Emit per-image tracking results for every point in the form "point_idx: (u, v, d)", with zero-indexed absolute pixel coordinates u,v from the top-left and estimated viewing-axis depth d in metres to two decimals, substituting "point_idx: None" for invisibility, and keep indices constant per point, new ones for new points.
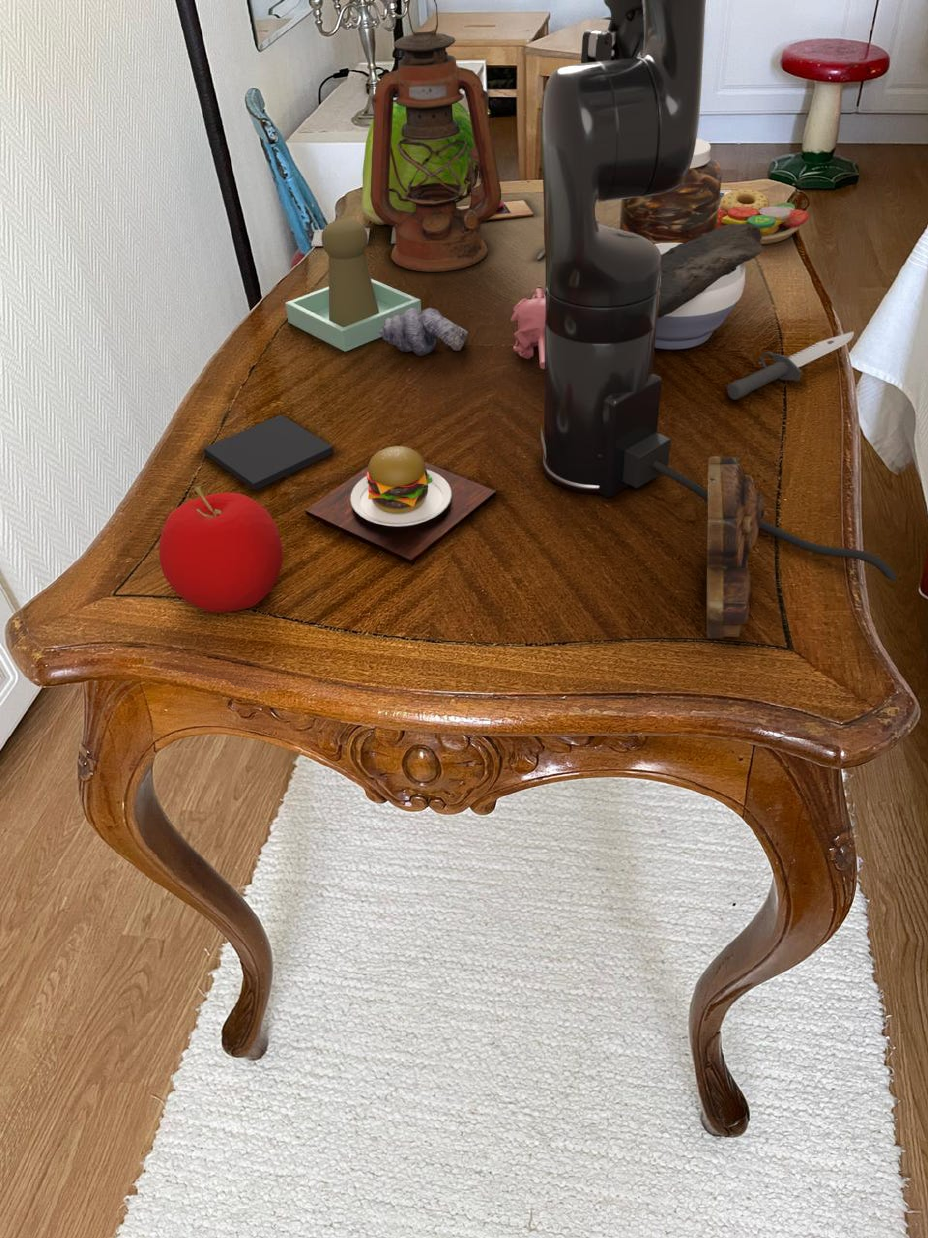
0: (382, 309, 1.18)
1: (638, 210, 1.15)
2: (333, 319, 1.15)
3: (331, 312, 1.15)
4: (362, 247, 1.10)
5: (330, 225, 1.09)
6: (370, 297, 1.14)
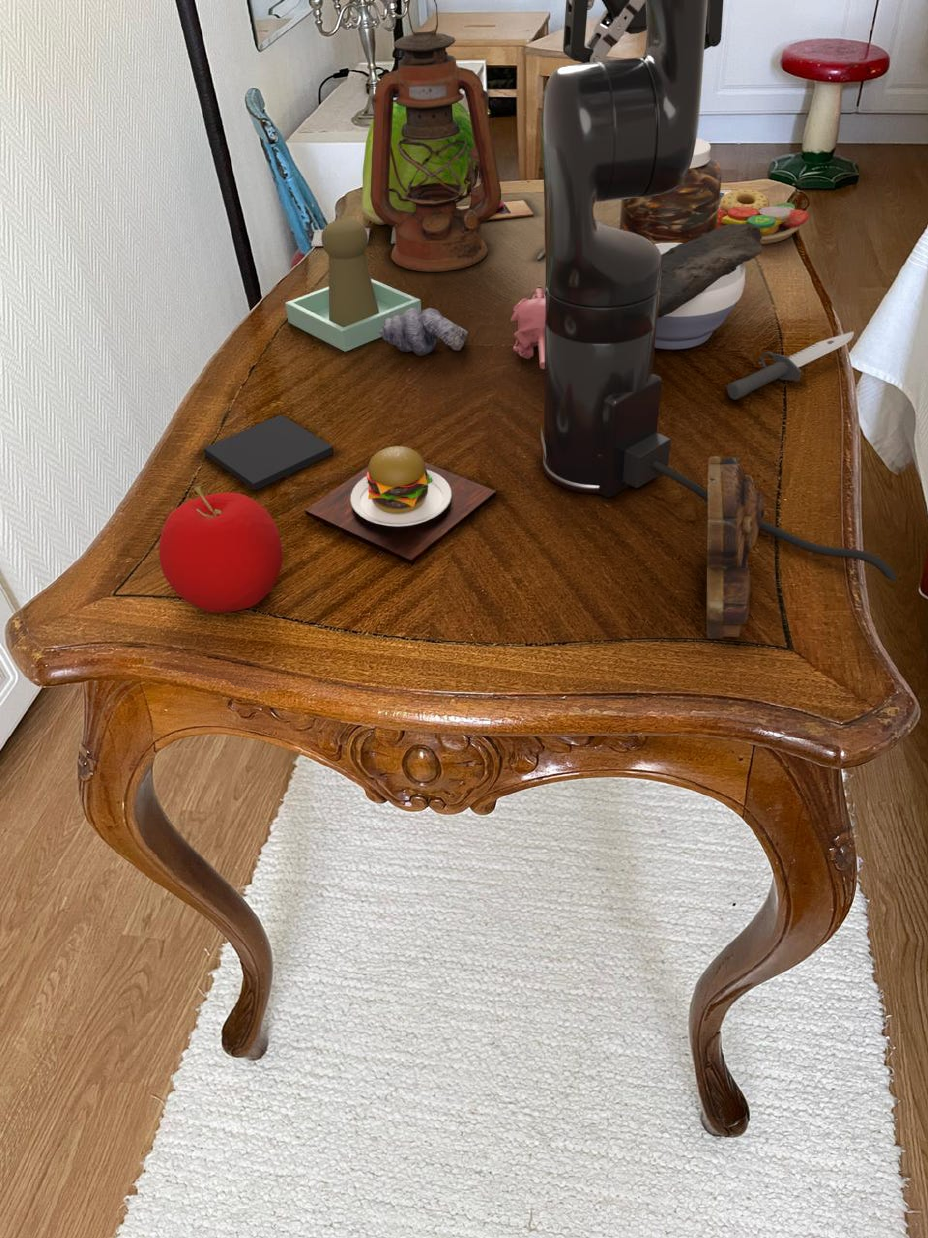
0: (382, 309, 1.18)
1: (638, 210, 1.15)
2: (333, 319, 1.15)
3: (331, 312, 1.15)
4: (362, 247, 1.10)
5: (330, 225, 1.09)
6: (370, 297, 1.14)
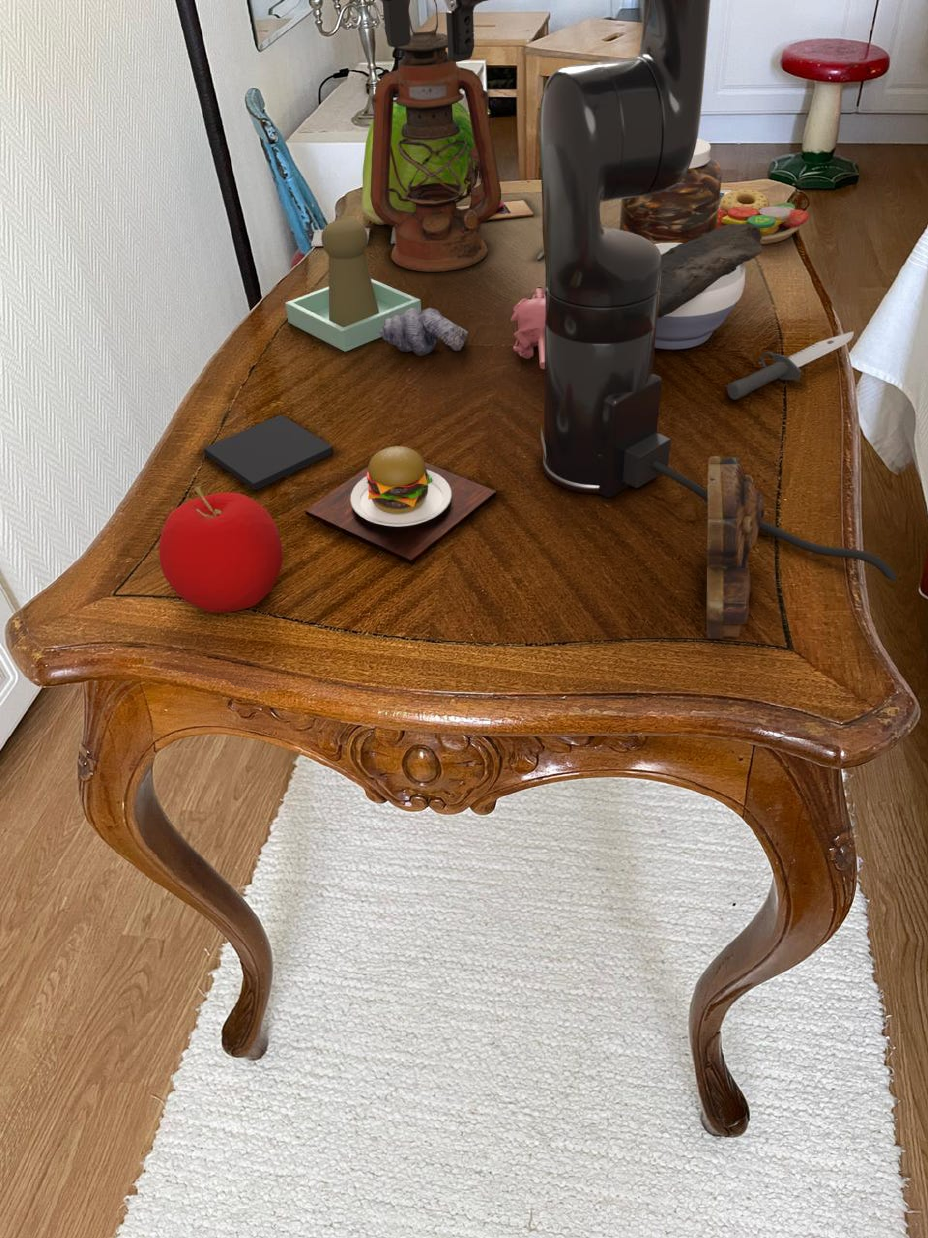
0: (382, 309, 1.18)
1: (638, 210, 1.15)
2: (333, 319, 1.15)
3: (331, 312, 1.15)
4: (362, 247, 1.10)
5: (330, 225, 1.09)
6: (370, 297, 1.14)
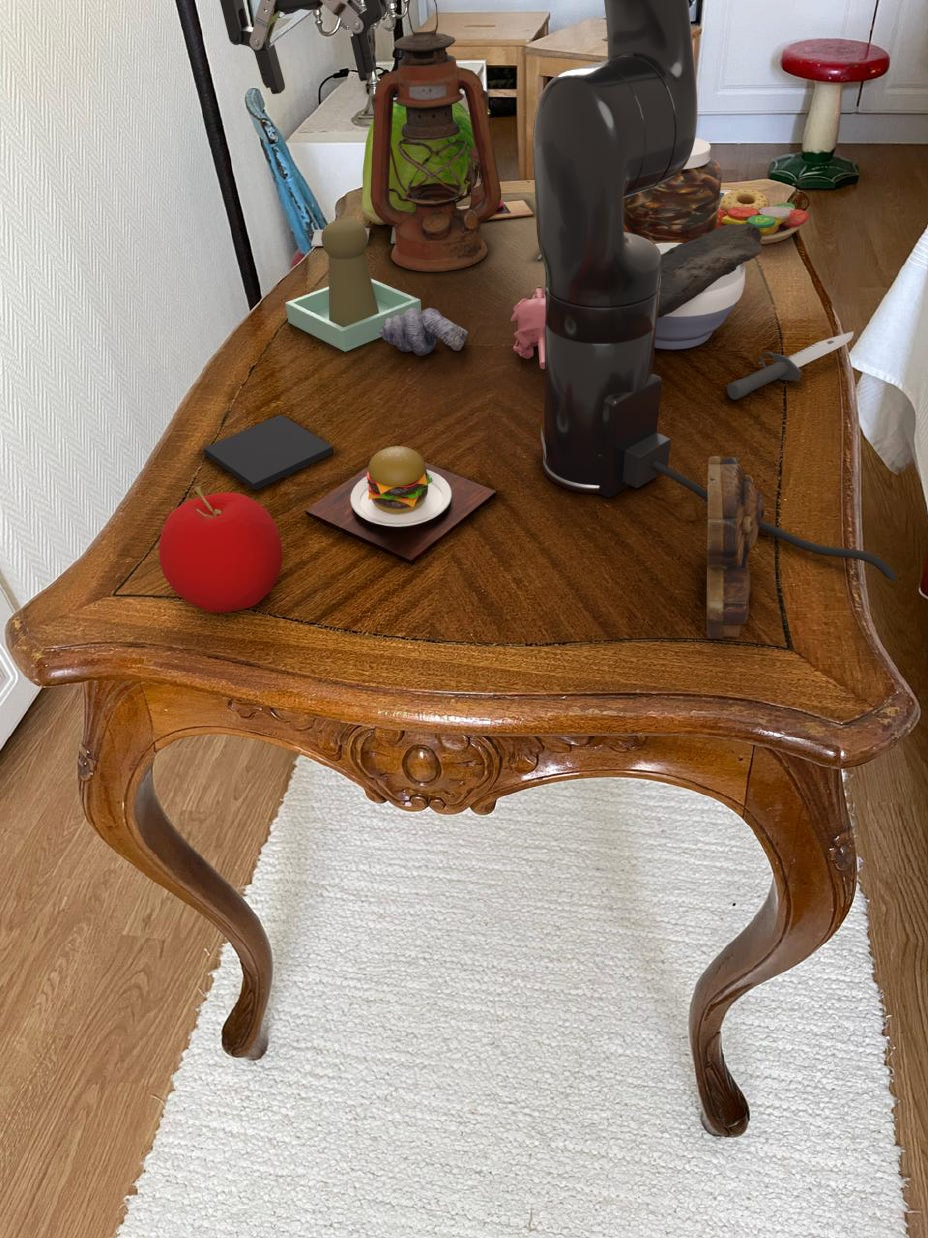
0: (382, 309, 1.18)
1: (638, 210, 1.15)
2: (333, 319, 1.15)
3: (331, 312, 1.15)
4: (362, 247, 1.10)
5: (330, 225, 1.09)
6: (370, 297, 1.14)
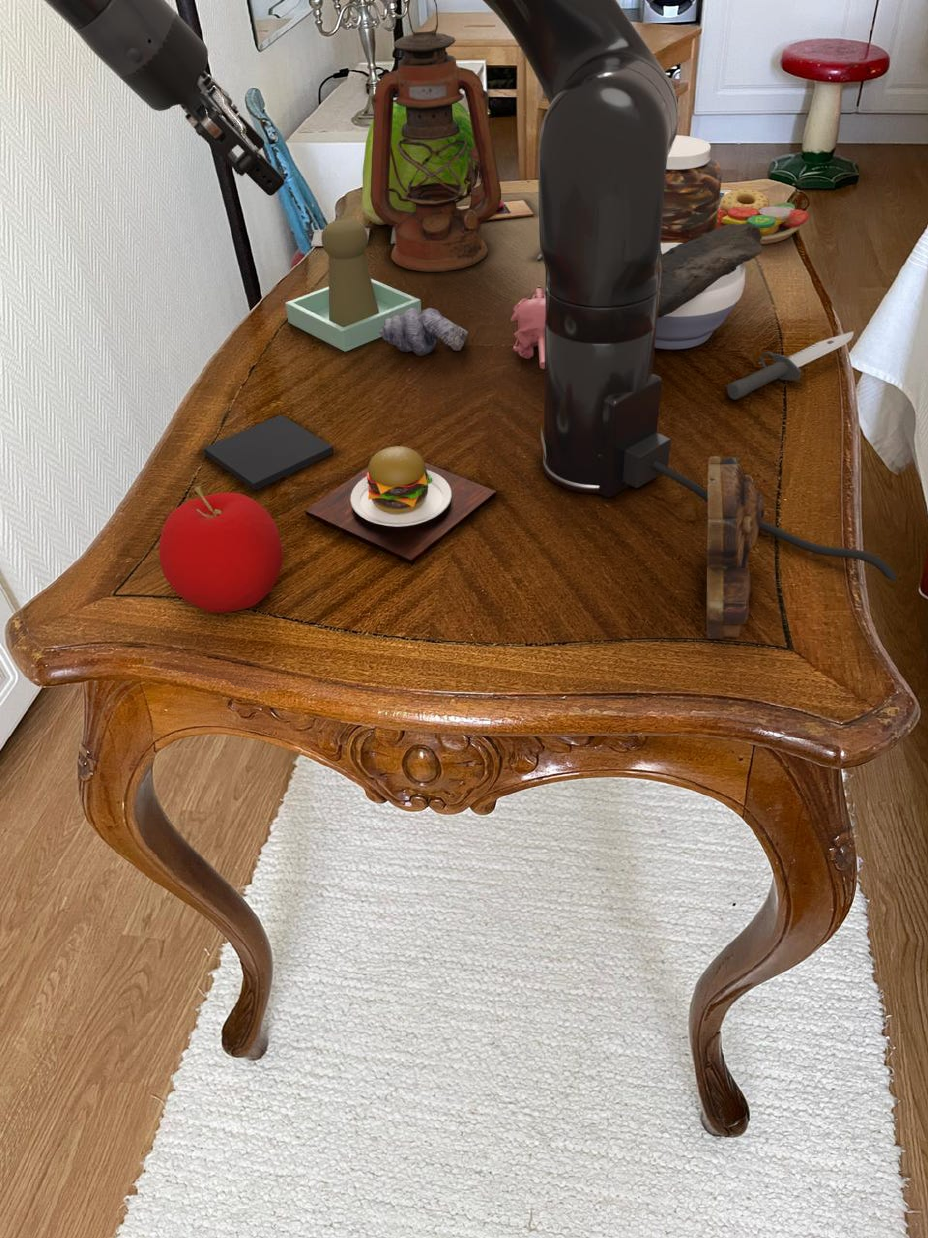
0: (382, 309, 1.18)
1: None
2: (333, 319, 1.15)
3: (331, 312, 1.15)
4: (362, 247, 1.10)
5: (330, 225, 1.09)
6: (370, 297, 1.14)
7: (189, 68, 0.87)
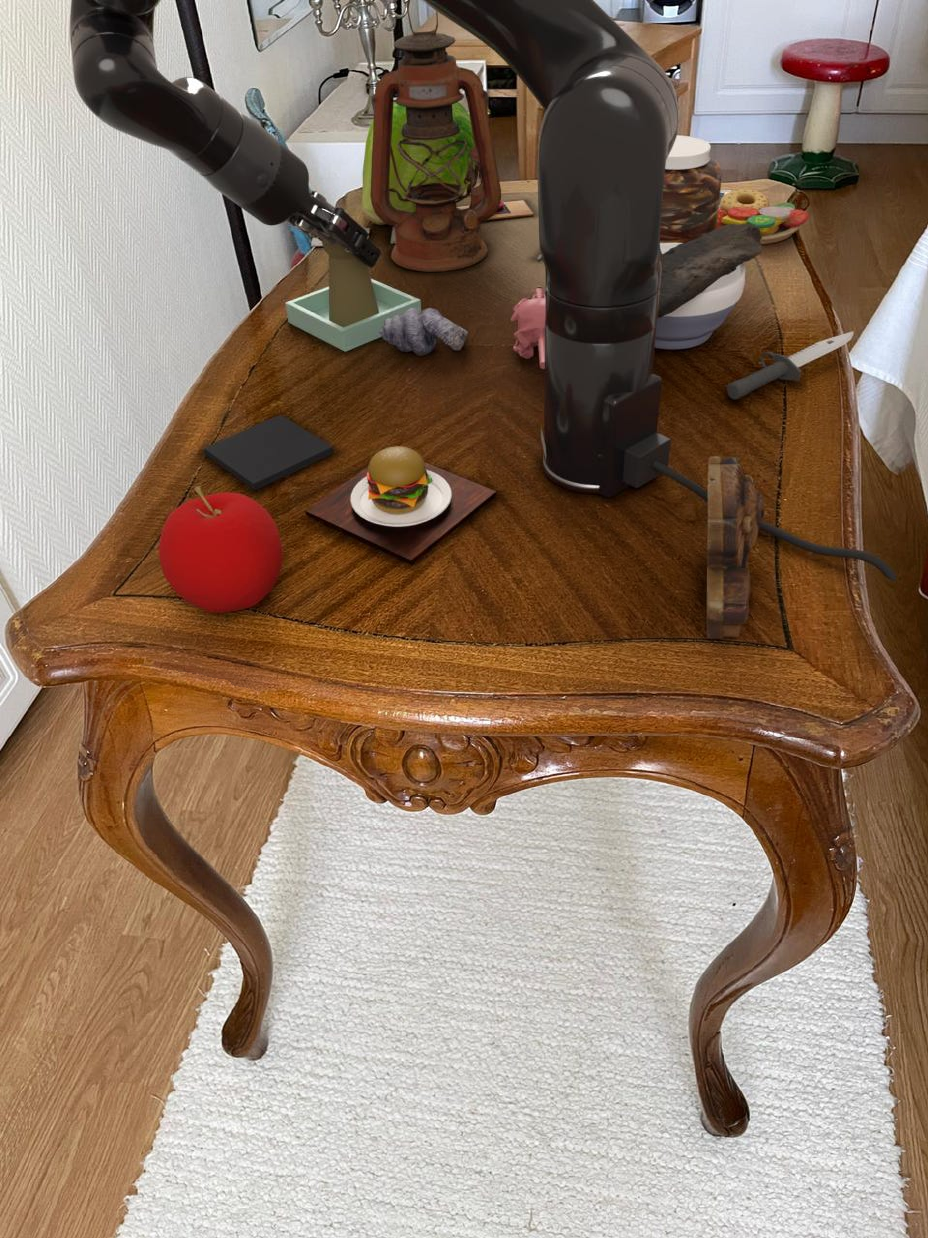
0: (382, 309, 1.18)
1: None
2: (333, 319, 1.15)
3: (331, 312, 1.15)
4: None
5: None
6: (371, 297, 1.14)
7: (301, 178, 1.00)
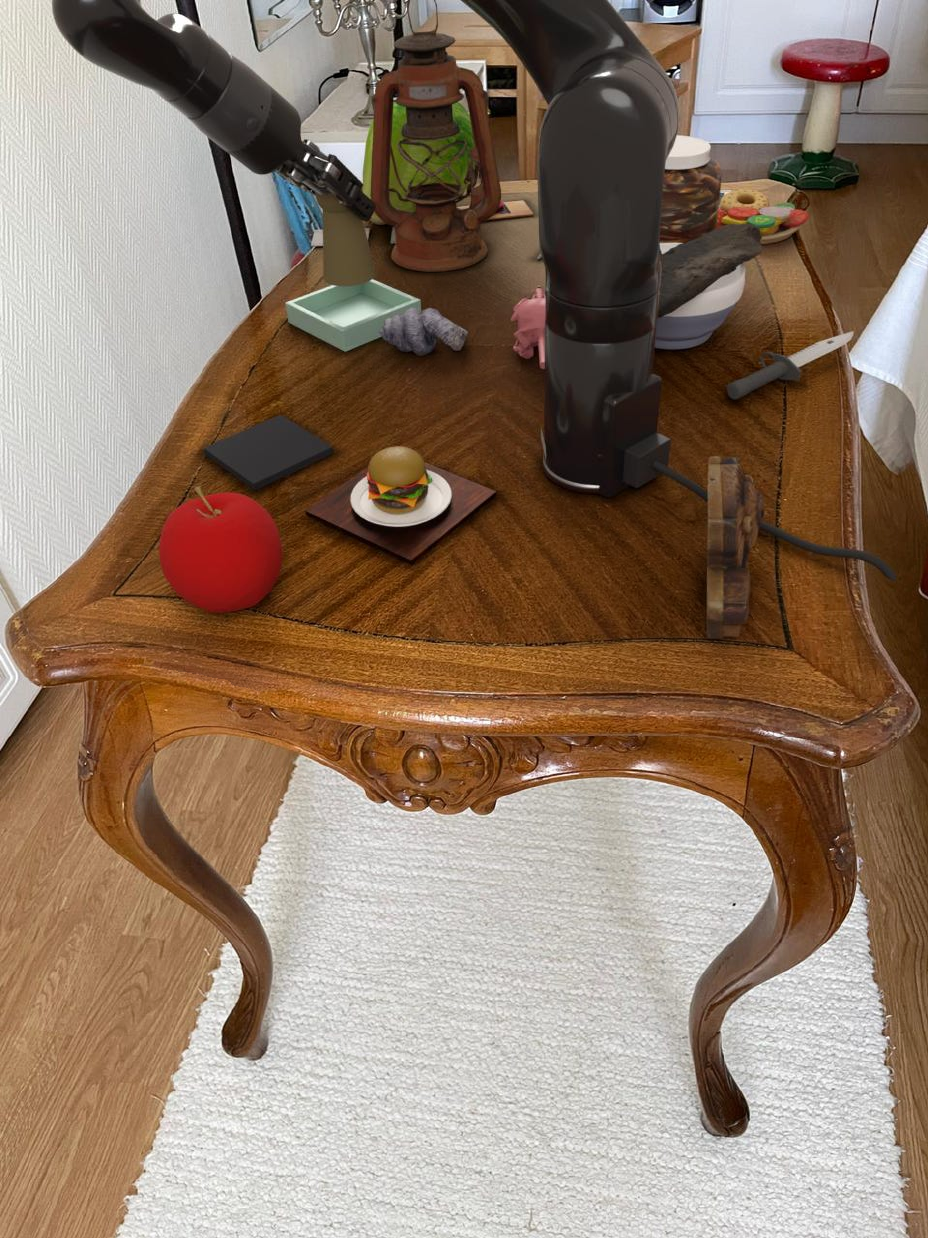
0: (382, 309, 1.18)
1: None
2: (327, 277, 1.11)
3: (325, 270, 1.11)
4: None
5: None
6: (366, 254, 1.10)
7: (293, 123, 0.96)
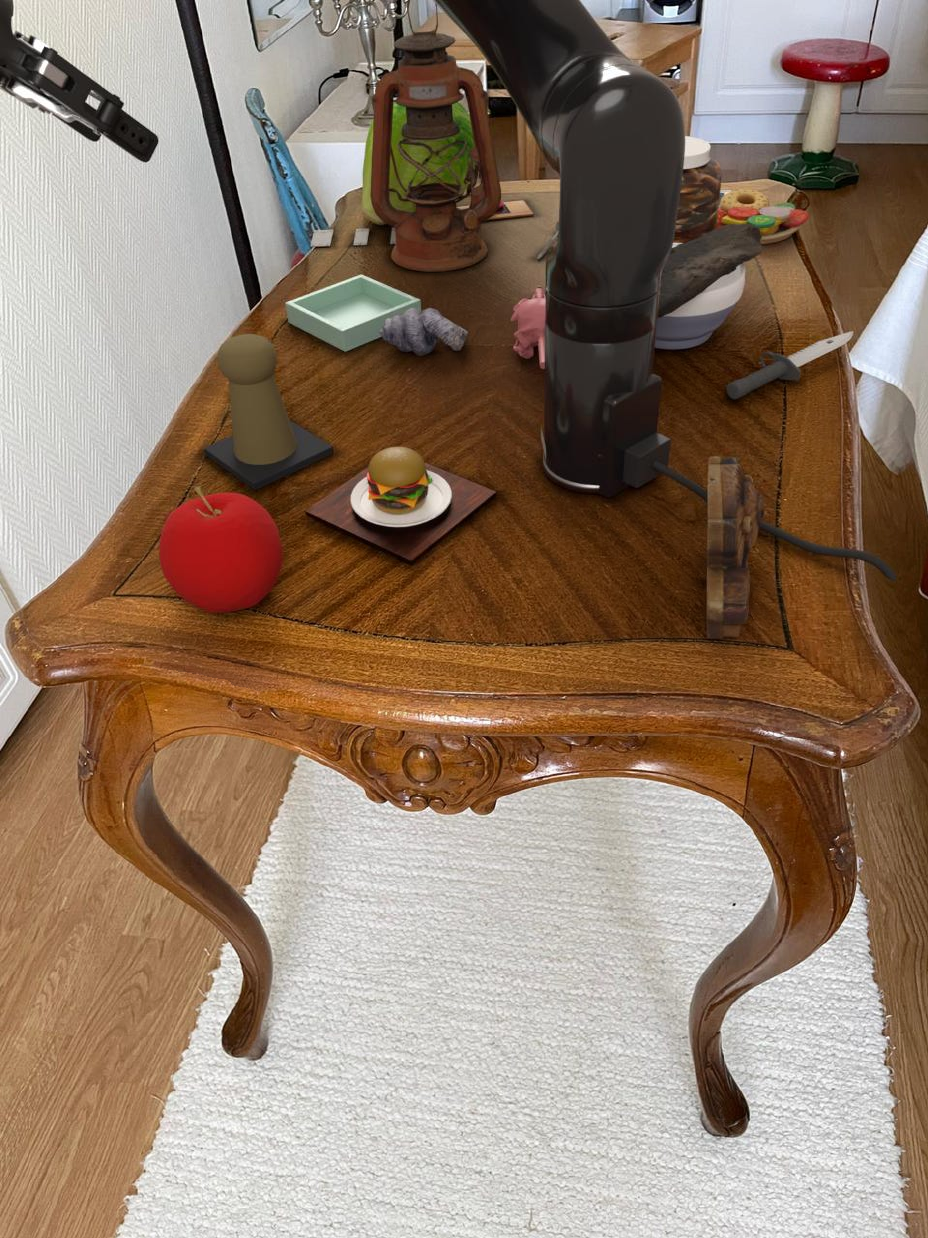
0: (382, 309, 1.18)
1: None
2: (237, 453, 0.93)
3: (235, 444, 0.93)
4: (268, 371, 0.88)
5: (228, 343, 0.87)
6: (283, 427, 0.92)
7: None
